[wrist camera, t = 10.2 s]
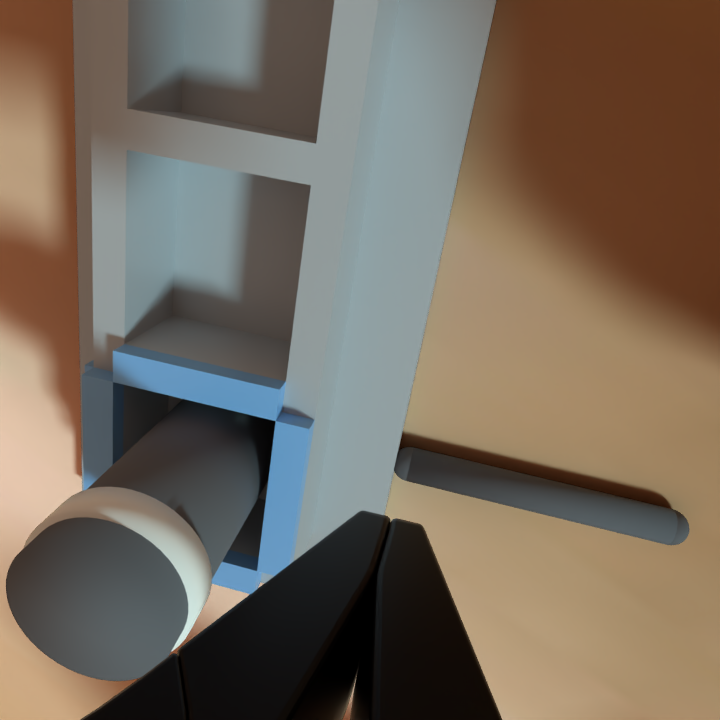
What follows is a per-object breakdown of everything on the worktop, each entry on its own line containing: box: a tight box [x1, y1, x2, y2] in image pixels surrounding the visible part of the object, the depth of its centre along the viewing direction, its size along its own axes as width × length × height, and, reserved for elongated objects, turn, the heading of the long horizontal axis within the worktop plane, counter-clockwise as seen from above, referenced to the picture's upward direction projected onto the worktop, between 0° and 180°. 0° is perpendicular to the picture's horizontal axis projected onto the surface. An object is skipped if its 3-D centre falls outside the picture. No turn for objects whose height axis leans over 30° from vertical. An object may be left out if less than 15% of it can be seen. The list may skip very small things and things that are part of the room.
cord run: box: [394, 447, 689, 545], centre depth 21 cm, size 10×1×1 cm, turn 81°
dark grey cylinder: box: [6, 399, 276, 681], centre depth 17 cm, size 4×4×9 cm
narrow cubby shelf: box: [73, 0, 497, 594], centre depth 18 cm, size 12×23×5 cm, turn 171°
